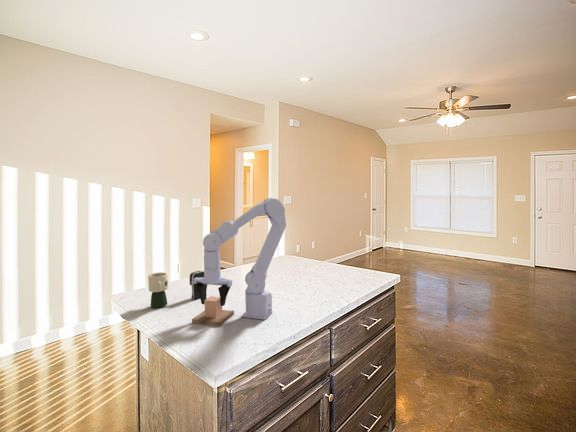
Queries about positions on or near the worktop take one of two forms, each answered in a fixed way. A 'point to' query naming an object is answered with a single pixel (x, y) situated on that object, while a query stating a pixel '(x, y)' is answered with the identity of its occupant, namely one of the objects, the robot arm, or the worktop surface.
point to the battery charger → (194, 292)
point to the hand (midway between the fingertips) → (213, 304)
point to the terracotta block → (212, 307)
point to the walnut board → (213, 321)
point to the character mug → (158, 289)
